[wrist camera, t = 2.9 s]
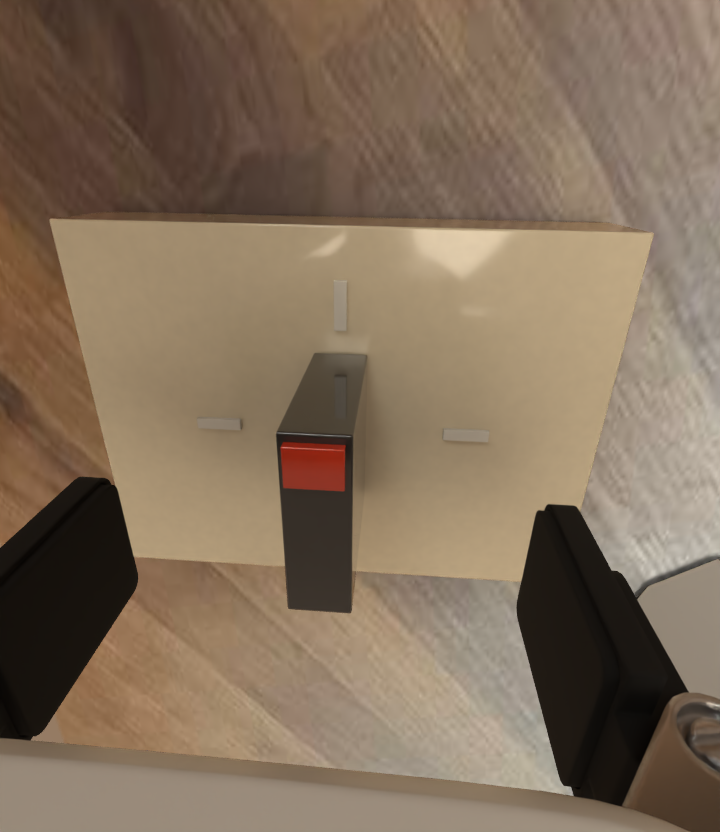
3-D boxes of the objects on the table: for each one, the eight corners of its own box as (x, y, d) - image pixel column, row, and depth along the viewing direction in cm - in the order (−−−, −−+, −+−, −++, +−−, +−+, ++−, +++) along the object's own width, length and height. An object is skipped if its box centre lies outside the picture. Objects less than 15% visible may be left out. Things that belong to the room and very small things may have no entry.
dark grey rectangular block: (364, 495, 16) (350, 622, 12) (317, 492, 17) (285, 617, 12) (367, 354, 14) (352, 441, 10) (313, 352, 14) (272, 438, 10)
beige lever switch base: (165, 509, 21) (130, 560, 18) (107, 211, 16) (43, 219, 13) (540, 531, 20) (562, 588, 18) (609, 222, 15) (658, 233, 12)
